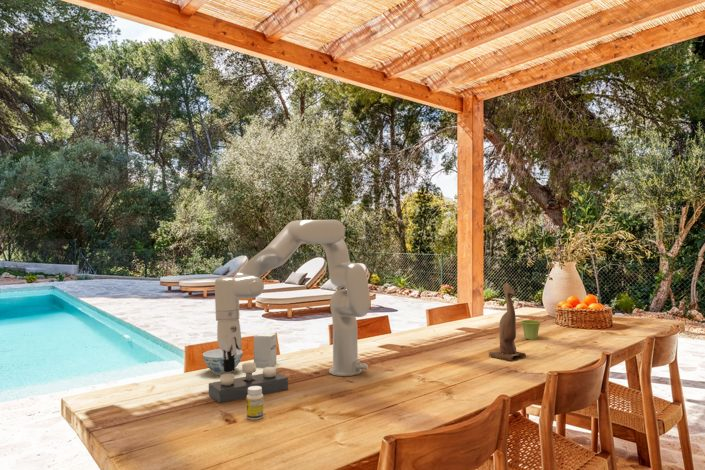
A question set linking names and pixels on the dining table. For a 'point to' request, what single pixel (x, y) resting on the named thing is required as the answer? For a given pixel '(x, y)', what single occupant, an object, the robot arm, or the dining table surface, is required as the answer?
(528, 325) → the plant pot
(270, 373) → the knob
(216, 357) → the chinaware
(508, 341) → the bird sculpture
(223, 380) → the knob
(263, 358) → the supplement box
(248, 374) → the knob middle
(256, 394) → the supplement bottle
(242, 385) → the knob plate
